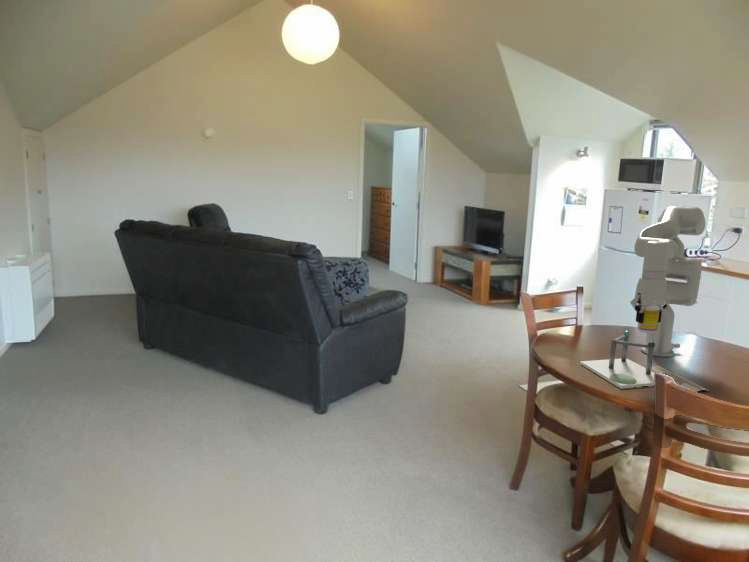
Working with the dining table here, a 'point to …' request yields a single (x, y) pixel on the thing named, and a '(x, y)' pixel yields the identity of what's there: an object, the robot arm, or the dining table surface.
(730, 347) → the dining table surface
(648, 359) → the bent wire
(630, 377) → the buzz board
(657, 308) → the supplement bottle
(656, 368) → the newspaper
